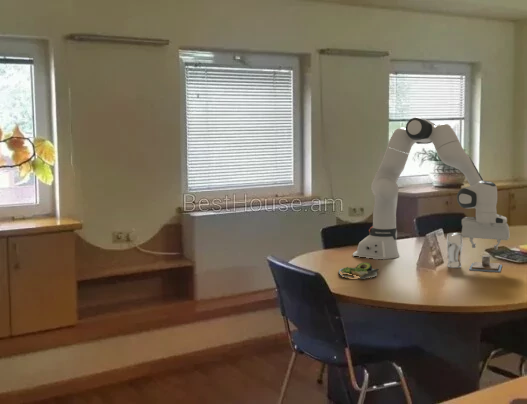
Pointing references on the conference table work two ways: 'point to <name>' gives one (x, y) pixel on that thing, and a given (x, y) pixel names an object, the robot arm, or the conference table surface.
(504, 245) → the conference table surface
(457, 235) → the beer glass
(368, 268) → the salad plate
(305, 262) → the conference table surface
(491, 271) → the slate mat
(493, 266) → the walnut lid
